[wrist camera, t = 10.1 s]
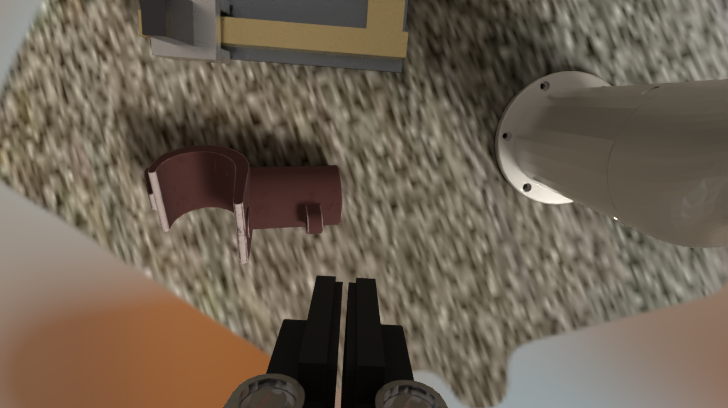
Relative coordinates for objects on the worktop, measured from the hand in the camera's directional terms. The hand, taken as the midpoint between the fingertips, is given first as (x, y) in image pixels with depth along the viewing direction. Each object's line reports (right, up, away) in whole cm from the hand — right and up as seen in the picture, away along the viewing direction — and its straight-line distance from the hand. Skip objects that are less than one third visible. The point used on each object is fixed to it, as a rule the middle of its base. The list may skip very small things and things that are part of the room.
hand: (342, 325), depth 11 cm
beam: (-7, +20, +24) cm, 32 cm away
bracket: (-10, +5, +29) cm, 31 cm away
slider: (-13, +20, +23) cm, 33 cm away
